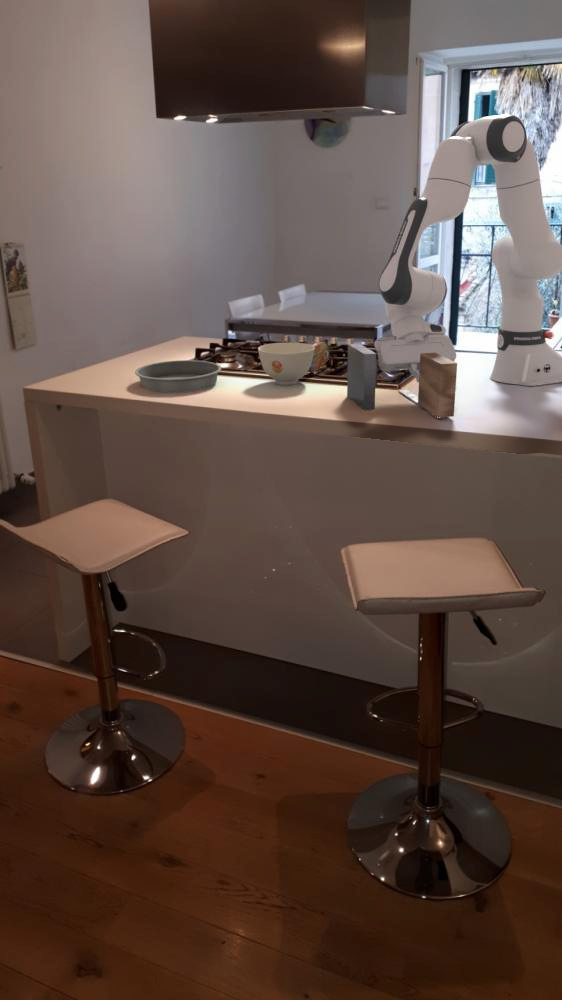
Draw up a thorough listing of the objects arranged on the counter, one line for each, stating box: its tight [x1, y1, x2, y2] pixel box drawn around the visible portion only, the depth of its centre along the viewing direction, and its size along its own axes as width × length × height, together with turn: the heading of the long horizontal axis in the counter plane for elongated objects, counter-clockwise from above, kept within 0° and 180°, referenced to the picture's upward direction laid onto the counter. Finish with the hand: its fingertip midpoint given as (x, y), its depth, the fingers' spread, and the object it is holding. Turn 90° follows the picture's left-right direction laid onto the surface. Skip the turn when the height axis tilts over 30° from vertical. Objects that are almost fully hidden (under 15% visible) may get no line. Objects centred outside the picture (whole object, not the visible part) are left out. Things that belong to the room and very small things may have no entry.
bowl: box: [257, 342, 315, 386], centre depth 229 cm, size 16×16×10 cm
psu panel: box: [346, 342, 435, 417], centre depth 203 cm, size 17×27×14 cm, turn 12°
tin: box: [308, 341, 331, 373], centre depth 243 cm, size 15×3×8 cm, turn 155°
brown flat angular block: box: [417, 353, 458, 419], centre depth 196 cm, size 4×13×13 cm, turn 12°
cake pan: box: [134, 359, 222, 393], centre depth 232 cm, size 25×25×4 cm
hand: (423, 380), depth 205 cm, fingers closed
